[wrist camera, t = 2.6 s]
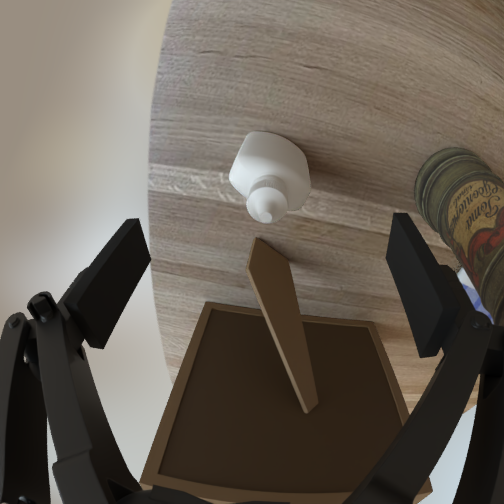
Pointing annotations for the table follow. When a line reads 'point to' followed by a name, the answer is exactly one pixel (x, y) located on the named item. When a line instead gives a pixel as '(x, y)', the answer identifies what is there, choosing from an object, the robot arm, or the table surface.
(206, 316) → the photo frame
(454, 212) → the container
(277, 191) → the eye dropper bottle
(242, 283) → the table surface
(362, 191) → the table surface
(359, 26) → the table surface
